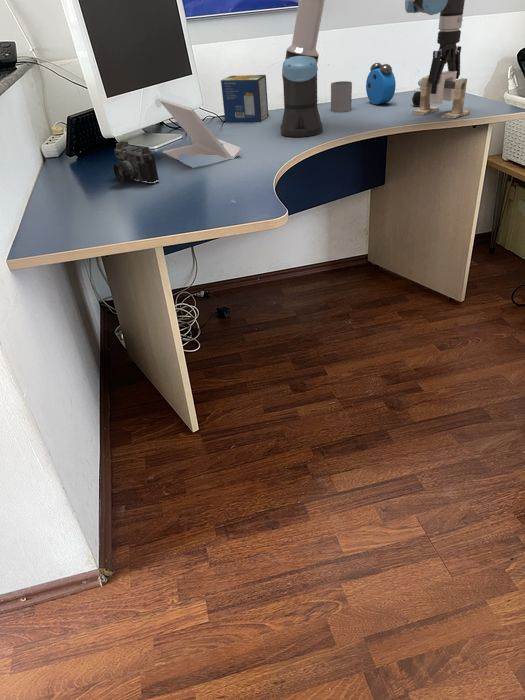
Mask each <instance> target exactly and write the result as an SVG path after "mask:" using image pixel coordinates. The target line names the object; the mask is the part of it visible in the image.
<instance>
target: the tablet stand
mask: <svg viewBox="0 0 525 700" xmlns="http://www.w3.org/2000/svg"><path fill="white" fill-rule="evenodd" d="M159 102H160V103H161V105H162V106H163V107H164V108H165V109H166V111H167V112H168V113H169V114H170V115H171V116H172V118H173V119H174V120H175V121H176V122H177V123H178V125H179V126H180V127H181V128H182V129H183V130H184V131H185V133H186V134H187V135H188V136H189V137H190V138H191V140H192V141H193V144H191V145H186V146H185V145H184V146H181V147H176V148H172V149H167V150H163V151H162V154H163V153H166V154H167V155H169V156H172V157H174V158H176V159H177V157H178V158H179V155H181V154H182V153H183V154H184V153H185V154H186V153H187V154H188V155H191V156H192V155H193V156H194V155H195V154H196V155H198V154H204V155H218V156H221V157H224V158H230V157H231V156H233V157H235V156H237V157H239V155H240V154H241V153H242V152H243V150H242V148H241V147H239V146H237V145H234V144H232V143H229V142H226V141H224V140H221V139H219V138H217V137H216V135H214V133H213V132H212V131H211V130H210V128H209V127H208V126H207V124H205V122H204V121H203V120H202V119H201V117H200V116H199V114H198V113H196V111H195V110H194V109H193V108H192V107H189V106H186V105H183V104H179V103H177V102H173V101H170V100H166V99H164V98H160V100H159ZM183 154H182V155H183ZM185 154H184V155H185ZM187 154H186V155H187ZM167 155H166V156H167ZM169 156H168V157H169Z"/></svg>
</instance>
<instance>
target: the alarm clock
mask: <svg viewBox="0 0 525 700" xmlns="http://www.w3.org/2000/svg"><path fill="white" fill-rule="evenodd" d="M369 70H370V72H369V73H368V74H367V78H366V83H365V91H366V95H367V99H368V100H369V102H370V103H371V104H373V105H379V104H381V105H382V104H386V103H387V104H388V105H389V104H390V102H391V101H392V99H393V98H394V96H395V93H396V85H397V84H396V77H395V75H394V72H393V68H392V66H391V65H390V64H388V63H383V64H382V63H380V62H374V63H373V64H372V65H371V66H370V69H369Z"/></svg>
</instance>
